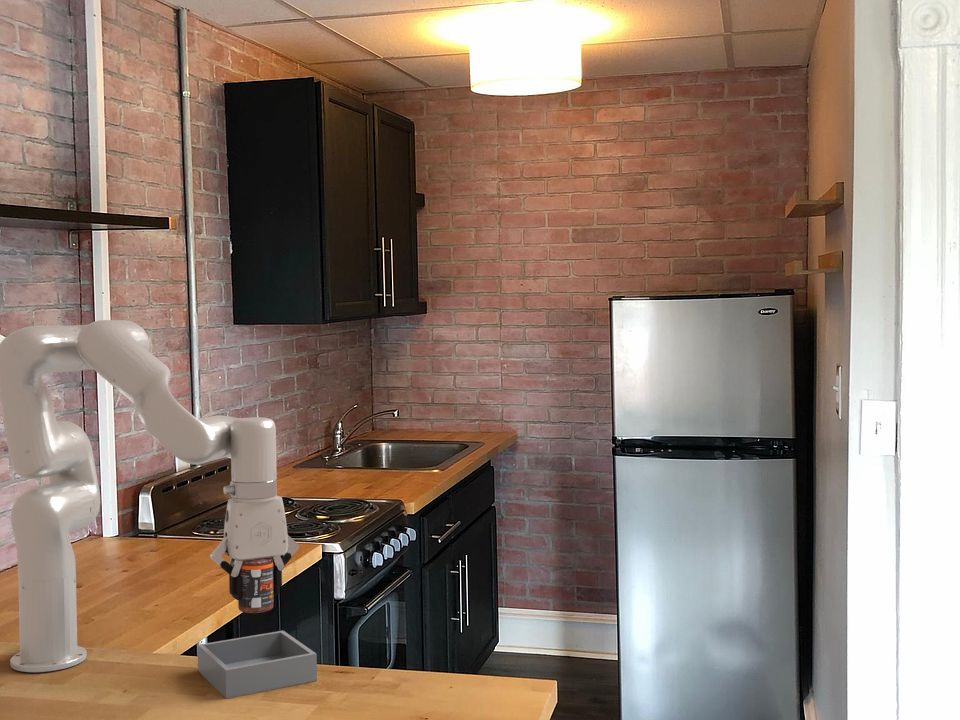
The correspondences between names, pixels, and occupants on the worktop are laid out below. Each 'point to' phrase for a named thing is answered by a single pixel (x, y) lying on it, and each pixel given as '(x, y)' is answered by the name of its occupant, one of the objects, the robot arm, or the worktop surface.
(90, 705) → the worktop surface
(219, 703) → the worktop surface
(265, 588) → the supplement bottle
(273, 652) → the bin
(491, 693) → the worktop surface
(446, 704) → the worktop surface
